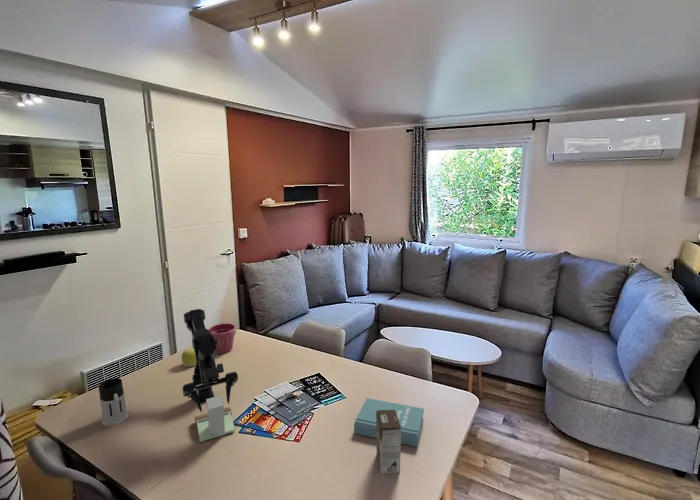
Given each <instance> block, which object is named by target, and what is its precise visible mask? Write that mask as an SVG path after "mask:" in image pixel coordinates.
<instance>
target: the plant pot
mask: <svg viewBox="0 0 700 500" xmlns="http://www.w3.org/2000/svg"><path fill="white" fill-rule="evenodd" d="M236 328H237V327H236V325H235V324H233V323H228V322H227V323H219V324H215V325H212V326H211V327H209V328H208V330H210V332H211V335H213V337H215V339H216V341H217V344H216V351H215V354H220V355H221V354H227V353H229V352H231V351H232V350H233V347H234V342H235V341H234V340H235V339H234V338H235V335H236V333H237V329H236Z"/></svg>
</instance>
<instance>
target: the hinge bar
mask: <svg viewBox="0 0 700 500" xmlns="http://www.w3.org/2000/svg"><path fill="white" fill-rule="evenodd" d="M229 411H230V412H231V416H232V417H233V413H232V409H231V407H230V406H227V407H224V413H225V412H229ZM204 418H207V412H206V413H202V414H199V415H195V416H194V423H195V424H194V425H195V429H198V427H197V420H201V419H204Z"/></svg>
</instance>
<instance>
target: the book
mask: <svg viewBox="0 0 700 500" xmlns="http://www.w3.org/2000/svg"><path fill="white" fill-rule="evenodd" d="M378 410H395V411H396V414H397V417H398V420H399V423H400V426H401V445H406V446H411V447H416V448H418V447H419V442H420V438H421V433H422V428H423V425H424V412H425V408H422V407H418V406H417V407H416V406H412V405H407V404H406V405H405V404H400V403H396V402H390V401H384V400H379V399H374V398H373V399H372V398H368V397H366V399H365V401H364V402H363V404H362V407H361V408H360V411H359V413H358V414H357V416H356V419H355V421H354V424H353V434H356V435H361V436H364V437H369V438H374V439H377V425H376V411H378Z"/></svg>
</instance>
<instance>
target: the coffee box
mask: <svg viewBox="0 0 700 500" xmlns="http://www.w3.org/2000/svg"><path fill="white" fill-rule="evenodd" d="M376 425H377V438H376V457H377V462H378V467H379V472H380V473H381V475H383V474H385V475H386V474H396V473H401V445H402V444H401V426H400V423H399V420H398V417H397V414H396V411H395V410H378V411H376Z"/></svg>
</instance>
